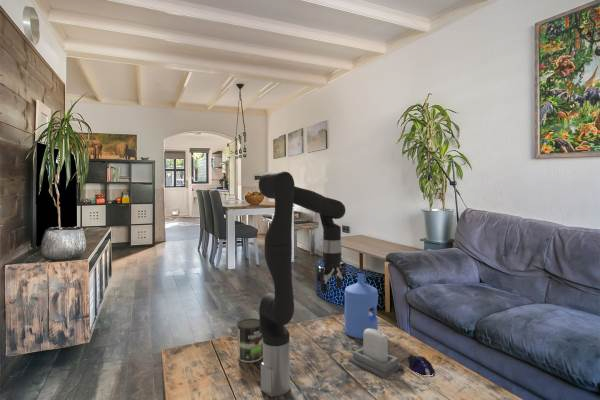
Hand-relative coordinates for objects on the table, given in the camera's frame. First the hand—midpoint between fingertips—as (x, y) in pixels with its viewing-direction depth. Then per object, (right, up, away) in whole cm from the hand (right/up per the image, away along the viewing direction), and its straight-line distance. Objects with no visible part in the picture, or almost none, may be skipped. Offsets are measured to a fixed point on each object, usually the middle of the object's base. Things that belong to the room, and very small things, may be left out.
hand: (331, 290), depth 143 cm
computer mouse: (+33, -29, -6) cm, 44 cm away
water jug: (+16, -27, +25) cm, 40 cm away
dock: (+17, -28, -4) cm, 33 cm away
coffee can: (-33, -28, +3) cm, 44 cm away
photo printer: (+17, -27, -4) cm, 32 cm away
